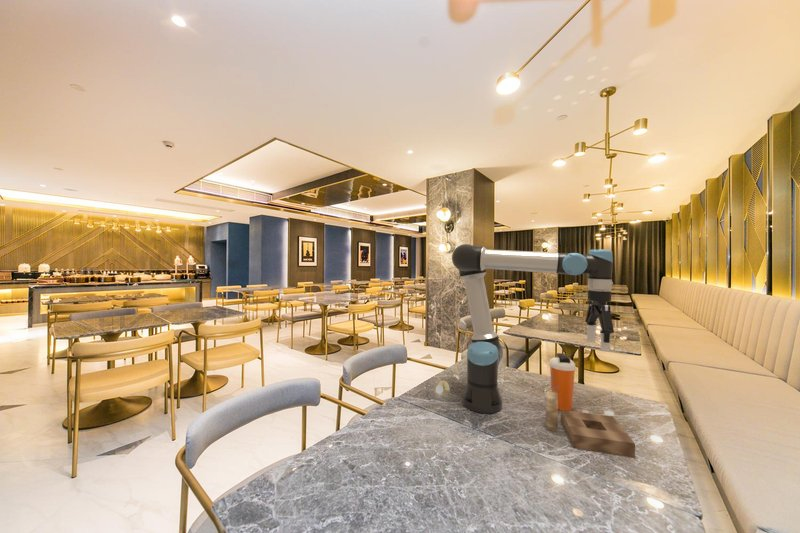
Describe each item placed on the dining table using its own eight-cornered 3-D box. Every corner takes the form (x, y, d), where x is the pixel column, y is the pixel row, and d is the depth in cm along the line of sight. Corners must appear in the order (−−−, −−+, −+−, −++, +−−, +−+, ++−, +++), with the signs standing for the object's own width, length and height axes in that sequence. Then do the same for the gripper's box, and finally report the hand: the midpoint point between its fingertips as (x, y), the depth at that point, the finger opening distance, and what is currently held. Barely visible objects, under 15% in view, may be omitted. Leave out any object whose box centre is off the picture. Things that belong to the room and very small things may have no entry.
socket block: (572, 447, 91) (573, 434, 91) (560, 420, 106) (560, 409, 106) (634, 457, 87) (635, 443, 87) (612, 428, 102) (612, 416, 102)
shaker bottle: (568, 402, 121) (569, 352, 121) (579, 413, 112) (580, 359, 112) (545, 400, 122) (546, 352, 122) (554, 411, 113) (555, 358, 113)
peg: (546, 430, 101) (547, 394, 101) (545, 424, 104) (545, 390, 104) (558, 431, 100) (558, 395, 100) (556, 426, 103) (556, 391, 103)
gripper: (626, 294, 100) (624, 357, 101) (597, 288, 125) (596, 338, 125) (601, 293, 102) (599, 354, 103) (577, 287, 126) (576, 337, 127)
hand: (597, 346), depth 114 cm, fingers open, 13 cm apart
